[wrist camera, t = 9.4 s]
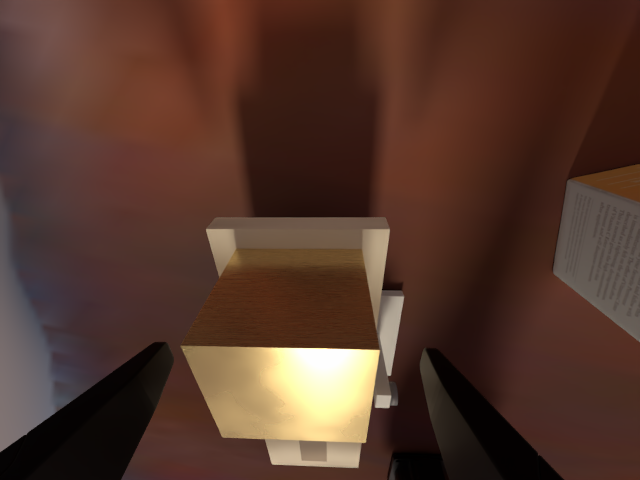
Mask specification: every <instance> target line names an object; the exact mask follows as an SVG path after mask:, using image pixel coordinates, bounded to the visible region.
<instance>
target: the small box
mask: <svg viewBox="0 0 640 480" xmlns="http://www.w3.org/2000/svg"><path fill="white" fill-rule="evenodd" d="M553 273H554V274H555V275H556V276H557V277H558V278H560V279H561V280H562V281H563V282H565V283H566V284H567V285H569V286H570V287H571V288H572V289H574V290H575V291H576V292H577V293H579V294H580V295H581V296H582V297H584V298H585V299H586V300H587V301H589V302H590V303H591V304H592V305H594V306H595V307H596V308H598V309H599V310H600V311H601V312H603V313H604V314H605V315H606V316H608V317H609V318H610V319H611V320H613V321H614V322H615V323H616V324H618V325H619V326H620V327H622V328H623V329H624V330H625V331H627V332H628V333H629V334H630V335H632V336H633V337H634V338H635V339H637V340H638V341H639V342H640V164H637V165H632V166H628V167H623V168H618V169H614V170H609V171H604V172H599V173H594V174H589V175H585V176H580V177H574V178H571V179H569V180H568V181H567V185H566V192H565V198H564V205H563V210H562V217H561V223H560V229H559V235H558V240H557V246H556V252H555V259H554V265H553Z"/></svg>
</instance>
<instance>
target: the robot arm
mask: <svg viewBox="0 0 640 480" xmlns="http://www.w3.org/2000/svg"><path fill="white" fill-rule="evenodd" d="M173 362H174V357H173V354H172V352H171V349H170V347H169V345H168V343H166V342H154V343H152V344H151V345H149V346H148V347H147V348H145V349H144V350H143V351H141V352H140V353H138V354H137V355H136V356H134V357H133V358H131V359H130V360H129V361H127V362H126V363H124V364H123V365H122V366H120V367H119V368H117V369H116V370H115V371H113V372H112V373H110V374H109V375H108V376H106V377H105V378H103V379H102V380H101V381H99V382H98V383H96V384H95V385H94V386H92V387H91V388H90V389H88V390H87V391H85V392H84V393H83V394H81V395H80V396H78V397H77V398H76V399H74V400H73V401H71V402H70V403H69V404H67V405H66V406H64V407H63V408H62V409H60V410H59V411H57V412H56V413H55V414H53V415H52V416H50V417H49V418H48V419H46V420H45V421H43V422H42V423H41V424H39V425H38V426H37V427H35V428H34V429H32V430H31V431H29V432H28V433H27V435H24V436H23V437H21V438H20V439H18V440H17V441H16V442H14V443H13V444H11V445H10V446H8V447H7V448H6V449H4V450H3V451H1V452H0V480H121V479H122V476H123V474H124V472H125V470H126V468H127V466H128V464H129V462H130V460H131V458H132V456H133V454H134V452H135V450H136V448H137V446H138V444H139V442H140V440H141V438H142V436H143V434H144V432H145V430H146V428H147V426H148V424H149V422H150V420H151V418H152V416H153V413H154V411H155V409H156V407H157V404H158V402H159V399H160V397H161V394H162V392H163V389H164V386H165V384H166V381H167V379H168V376H169V374H170V371H171V368H172V366H173ZM420 372H421V377H422V381H423V386H424V391H425V396H426V401H427V405H428V410H429V415H430V419H431V422H432V426H433V429H434V432H435V435H436V439H437V442H438V445H439V448H440V451H441V454H442V456H429V455H404V454H396V455H393V457H392V461H391V466H390V470H389V474H388V479H387V480H564V479H563V478H562V477H561V476H560V475H559V474H558V473H557V472H556V471H555V470H554V469H553V468H552V467H551V466H550V465H549V464H548V463H547V462H546V461H545V460H544V459H543V458H542V457H541V456H540V455H539V456H538V453H537V451H536V450H535V449H534V448H533V447H532V446H531V445H530V444H529V443H528V442H527V441H526V440H525V439H524V438H523V437H522V436H521V435H520V434H519V433H518V432H517V431H516V430H515V429H514V428H513V427H512V426H511V425H510V423H509V422H508V421H507V420H506V419H505V418H504V417H503V416H502V415H501V414H500V413H499V412H498V411H497V410H496V409H495V408H494V407H493V406H492V405H491V404H490V403H489V402H488V401H487V400H486V399H485V398H484V397H483V396H482V394H481V393H480V392H479V391H478V390H477V389H476V388H475V387H474V386H473V385H472V384H471V383H470V382H469V381H468V380H467V379H466V378H465V377H464V376H463V375H462V374H461V373H460V372H459V371H458V370H457V369H456V368H455V366H454V365H453V364H452V363H451V362H450V361H449V360H448V359H447V358H446V357H445V356H444V355H443V354H442V353H441V352H440V351H439V350H438V349H436V348H425V349H424V350H423V353H422V357H421V361H420Z"/></svg>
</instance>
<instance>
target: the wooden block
mask: <svg viewBox="0 0 640 480" xmlns="http://www.w3.org/2000/svg"><path fill="white" fill-rule="evenodd" d="M181 348H182V350H183V352H184V354H185V357H186V359H187V361H188V363H189V365H190V368H191V370H192V372H193V374H194V376H195V378H196V381H197V383H198V385H199V387H200V389H201V391H202V394H203V396H204V398H205V400H206V402H207V405H208V407H209V409H210V411H211V413H212V415H213V418H214V420H215V422H216V424H217V426H218V428H219V431H220V433H221V435H222V437H225V438H251V439H277V440H303V441H330V442H356V443H366V437H367V431H368V424H369V418H370V411H371V405H372V398H373V392H374V385H375V379H376V372H377V366H378V359H379V353H380V348H379V342H378V337H377V331H376V325H375V319H374V314H373V308H372V302H371V297H370V291H369V285H368V280H367V274H366V268H365V263H364V257H363V251H362V249H239V248H236V250H235V251H234V253H233V255H232V257H231V258H230V260H229V262H228V264H227V265H226V267H225V269H224V271H223V272H222V274H221V276H220V278H219V279H218V281H217V283H216V285H215V286H214V288H213V290H212V292H211V293H210V295H209V297H208V299H207V300H206V302H205V304H204V306H203V307H202V309H201V311H200V312H199V314H198V316H197V318H196V319H195V321H194V323H193V325H192V326H191V328H190V330H189V332H188V333H187V335H186V337H185V339H184V340H183V342H182V344H181Z"/></svg>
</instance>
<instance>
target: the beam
mask: <svg viewBox="0 0 640 480" xmlns="http://www.w3.org/2000/svg"><path fill="white" fill-rule="evenodd" d="M206 231H207V235H208V239H209V242H210V246H211V249H212V253H213V256H214V260H215V263H216V267H217V270H218V274H219V278H220V276H221V274H222V272H223V271H224V269H225V267H226V265H227V264H228V262H229V260H230V258H231V257H232V255H233V253H234V251H235V250H236V248H239V249H362V251H363V257H364V263H365V268H366V274H367V280H368V285H369V291H370V297H371V302H372V308H373V314H374V319H375V325H376V330H377V322H378V315H379V307H380V300H381V292H382V285H383V278H384V270H385V263H386V255H387V248H388V240H389V233H390V228H389V226H388V223H387V220H386V218H385V217H257V218H215V219H214V220H213V221H212V223H211V224H210V225H209V226H208V227H207V228H206ZM265 441H266V444H267V448H268V452H269V455H270V459H271V462H272V464H276V465H300V466H324V467H347V468H358V464H359V456H360V449H361V443H356V442H330V441H303V440H277V439H265Z"/></svg>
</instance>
